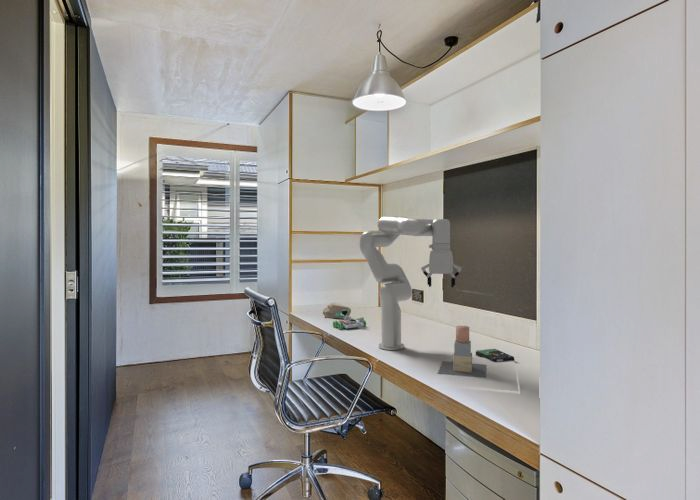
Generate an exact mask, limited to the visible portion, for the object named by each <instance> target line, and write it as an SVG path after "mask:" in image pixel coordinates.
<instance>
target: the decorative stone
mask: <svg viewBox="0 0 700 500" xmlns="http://www.w3.org/2000/svg"><path fill="white" fill-rule="evenodd" d="M342 310H347V316H349V317H350V315H351V313H352V309H351V308H350V307H349V306H347V305H343V304H341V303H338V302H331V303H329V304H328V305H327V306H326V307H324V308H323V310H322V315H323V316H325V317H326V318H327V319H340V320H345V319H344V318H343V317H341V316H338V317H337V316H336V313H337V314H339V315H341V314H340V313H342Z"/></svg>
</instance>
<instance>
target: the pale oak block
mask: <svg viewBox="0 0 700 500" xmlns="http://www.w3.org/2000/svg"><path fill="white" fill-rule="evenodd" d="M452 362H453V371H462V372H471V371H472V364H473V352H471V355H470V357H467V356H454V354H453V355H452Z"/></svg>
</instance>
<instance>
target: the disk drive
mask: <svg viewBox="0 0 700 500" xmlns="http://www.w3.org/2000/svg"><path fill="white" fill-rule="evenodd" d="M475 356H477V357H479V358H485V359H487V360H489V361H491V362H493V363H497V362H499V363H500V362H507V361H515V357H514V356H513V355H510V354H509V353H506V352H503V351H501V350H498V349H497V348H489V349H487V348H486V349H480V350H478V349H477V350H476V351H475Z"/></svg>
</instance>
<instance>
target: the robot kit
mask: <svg viewBox="0 0 700 500" xmlns="http://www.w3.org/2000/svg"><path fill="white" fill-rule="evenodd" d="M340 314H341V315H339V314H337V313H336V316H337V317H338V316H341V317H343V318H344V319H340V320H339V321H338V320H333V322H332V326H333V328H335V329H336V328H337V329H338V330H339V331H341V330H343V329H344V328H345V329H351V328H361V327H362V328H366V326H367V321H366V320H365V317H361V316H360V317H358V318H352V316H350V315H349V316H347V310H342V313H340Z"/></svg>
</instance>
